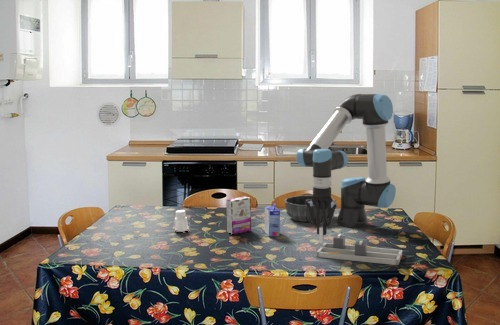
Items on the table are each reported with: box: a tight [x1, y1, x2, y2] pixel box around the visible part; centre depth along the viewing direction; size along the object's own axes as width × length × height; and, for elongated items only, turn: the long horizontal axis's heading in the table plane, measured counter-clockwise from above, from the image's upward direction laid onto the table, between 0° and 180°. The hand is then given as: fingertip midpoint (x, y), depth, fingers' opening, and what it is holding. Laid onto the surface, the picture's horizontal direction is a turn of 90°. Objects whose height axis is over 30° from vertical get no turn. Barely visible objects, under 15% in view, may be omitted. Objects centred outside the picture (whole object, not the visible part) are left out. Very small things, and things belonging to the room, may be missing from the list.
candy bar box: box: [225, 196, 252, 235], centre depth 269 cm, size 11×5×16 cm, turn 126°
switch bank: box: [315, 242, 403, 266], centre depth 228 cm, size 14×32×4 cm, turn 69°
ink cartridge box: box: [263, 202, 281, 237], centre depth 265 cm, size 10×6×14 cm, turn 11°
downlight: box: [172, 209, 191, 231], centre depth 273 cm, size 8×7×10 cm
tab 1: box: [332, 233, 346, 249], centre depth 234 cm, size 4×4×7 cm
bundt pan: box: [283, 194, 337, 223], centre depth 294 cm, size 26×26×10 cm
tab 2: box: [354, 240, 368, 256], centre depth 225 cm, size 4×4×7 cm
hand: (321, 242), depth 237 cm, fingers closed
